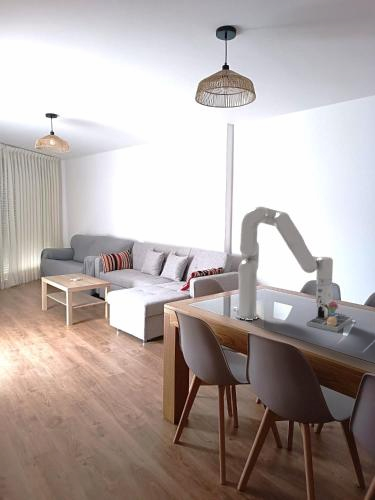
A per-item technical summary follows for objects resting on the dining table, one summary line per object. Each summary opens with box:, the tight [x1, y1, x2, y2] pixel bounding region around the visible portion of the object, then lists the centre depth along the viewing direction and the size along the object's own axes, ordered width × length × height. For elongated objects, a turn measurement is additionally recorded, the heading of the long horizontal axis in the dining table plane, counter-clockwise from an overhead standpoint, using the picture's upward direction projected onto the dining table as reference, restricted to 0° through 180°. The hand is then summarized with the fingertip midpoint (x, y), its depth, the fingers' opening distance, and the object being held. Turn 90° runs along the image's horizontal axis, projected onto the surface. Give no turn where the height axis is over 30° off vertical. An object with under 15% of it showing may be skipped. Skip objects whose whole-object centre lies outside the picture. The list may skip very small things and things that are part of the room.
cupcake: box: [328, 300, 339, 314], centre depth 203 cm, size 9×8×12 cm
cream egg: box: [323, 306, 328, 319], centre depth 187 cm, size 4×4×6 cm
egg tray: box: [306, 313, 353, 333], centre depth 185 cm, size 15×22×2 cm
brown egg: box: [327, 316, 337, 327], centre depth 177 cm, size 4×4×6 cm
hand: (322, 316), depth 187 cm, fingers closed on cream egg, 4 cm apart
